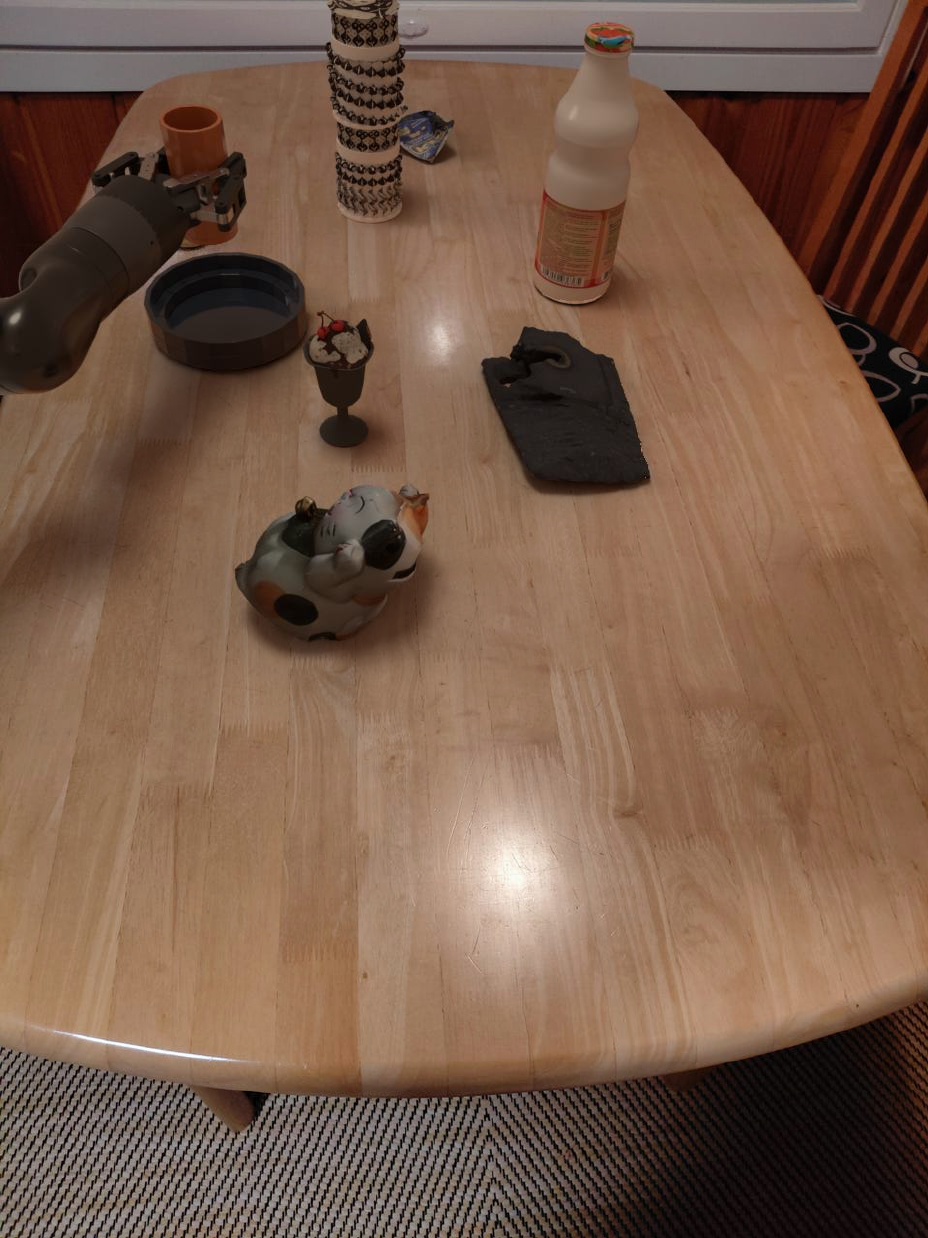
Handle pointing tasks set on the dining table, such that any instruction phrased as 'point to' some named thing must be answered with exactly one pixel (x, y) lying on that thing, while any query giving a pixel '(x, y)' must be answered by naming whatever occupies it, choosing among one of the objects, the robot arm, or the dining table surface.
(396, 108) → the cream patterned cylinder
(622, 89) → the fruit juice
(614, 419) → the dark slate chunk
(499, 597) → the dining table surface
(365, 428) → the sundae
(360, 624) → the lucky cat figurine
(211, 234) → the tumbler
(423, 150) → the snack package
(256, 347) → the bowl
